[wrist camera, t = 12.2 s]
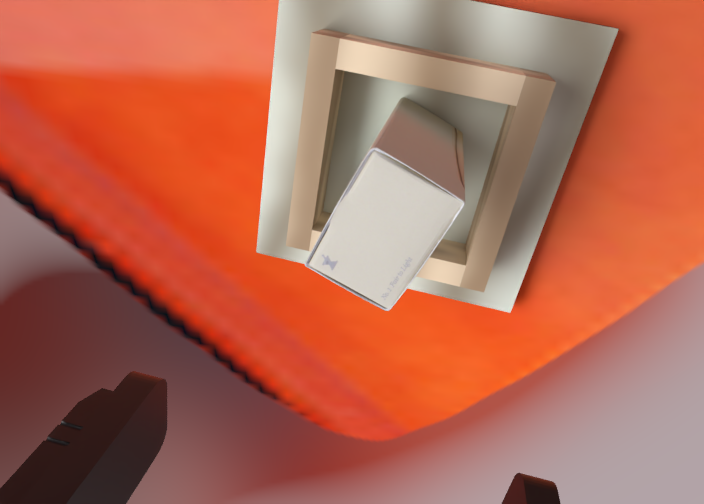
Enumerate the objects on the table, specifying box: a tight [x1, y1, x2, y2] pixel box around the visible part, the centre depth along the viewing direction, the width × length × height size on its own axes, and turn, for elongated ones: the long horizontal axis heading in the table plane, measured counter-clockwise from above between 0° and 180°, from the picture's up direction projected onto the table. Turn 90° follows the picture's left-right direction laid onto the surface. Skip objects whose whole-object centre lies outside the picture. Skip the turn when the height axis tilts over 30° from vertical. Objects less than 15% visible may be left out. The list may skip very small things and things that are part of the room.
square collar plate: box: [256, 0, 619, 313], centre depth 31 cm, size 18×18×4 cm
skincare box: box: [305, 97, 465, 311], centre depth 26 cm, size 6×4×12 cm
